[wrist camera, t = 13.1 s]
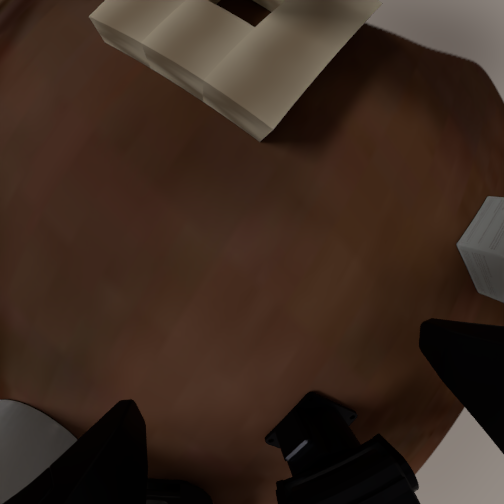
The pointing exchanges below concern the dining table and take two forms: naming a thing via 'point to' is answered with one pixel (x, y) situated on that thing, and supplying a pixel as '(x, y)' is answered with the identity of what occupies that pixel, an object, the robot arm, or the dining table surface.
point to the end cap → (175, 492)
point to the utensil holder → (27, 445)
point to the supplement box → (486, 248)
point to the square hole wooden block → (235, 49)
